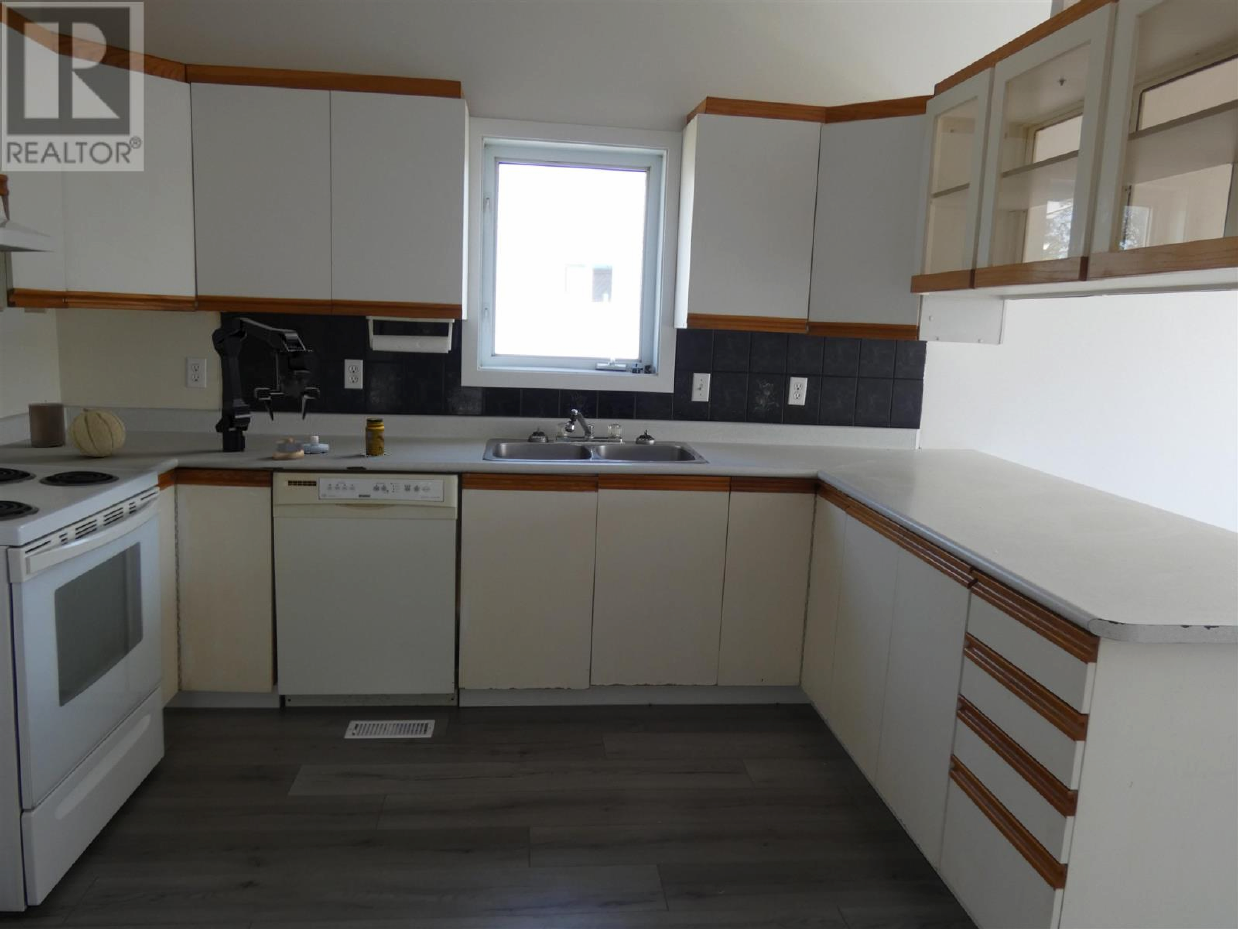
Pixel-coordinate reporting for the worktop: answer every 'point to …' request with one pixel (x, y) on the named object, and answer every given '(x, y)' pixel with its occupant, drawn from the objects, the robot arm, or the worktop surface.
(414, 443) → the worktop surface
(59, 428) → the pillar candle
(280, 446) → the ring
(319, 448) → the hub
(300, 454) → the stand
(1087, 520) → the worktop surface
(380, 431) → the condiment
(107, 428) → the cantaloupe
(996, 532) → the worktop surface
